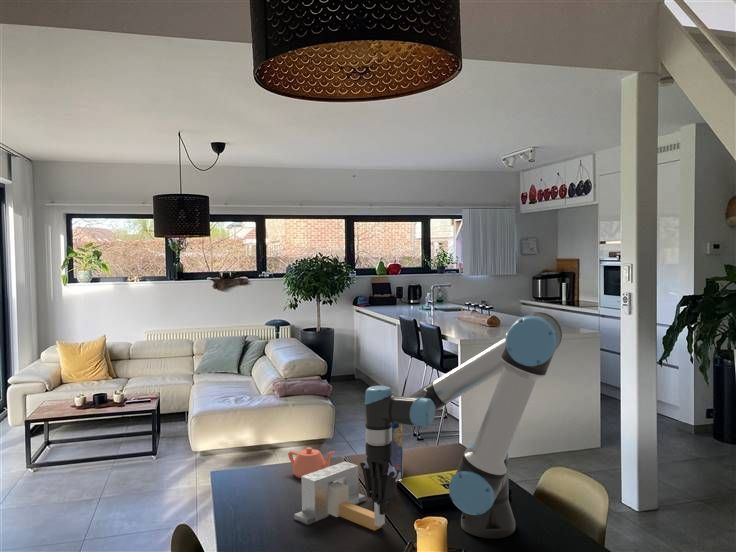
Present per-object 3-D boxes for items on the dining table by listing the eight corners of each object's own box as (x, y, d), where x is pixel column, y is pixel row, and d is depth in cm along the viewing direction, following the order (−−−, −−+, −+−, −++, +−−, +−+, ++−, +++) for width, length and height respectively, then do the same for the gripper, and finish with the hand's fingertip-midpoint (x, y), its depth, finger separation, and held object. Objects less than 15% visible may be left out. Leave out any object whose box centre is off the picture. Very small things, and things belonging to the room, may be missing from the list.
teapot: (295, 466, 224) (294, 441, 224) (340, 470, 219) (340, 444, 218) (281, 478, 212) (280, 451, 212) (329, 482, 207) (328, 455, 207)
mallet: (384, 526, 172) (383, 498, 172) (372, 531, 169) (371, 503, 169) (336, 506, 186) (335, 481, 186) (324, 511, 183) (323, 485, 183)
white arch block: (365, 500, 191) (364, 463, 191) (307, 525, 174) (306, 484, 173) (352, 495, 195) (351, 458, 195) (294, 519, 178) (293, 479, 178)
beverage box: (403, 470, 217) (402, 410, 217) (402, 482, 206) (401, 418, 206) (384, 470, 218) (383, 410, 217) (382, 481, 207) (381, 418, 206)
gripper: (405, 443, 167) (405, 527, 168) (371, 434, 177) (372, 513, 177) (387, 449, 162) (387, 536, 163) (353, 440, 171) (354, 521, 172)
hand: (379, 524), depth 170 cm, fingers closed
